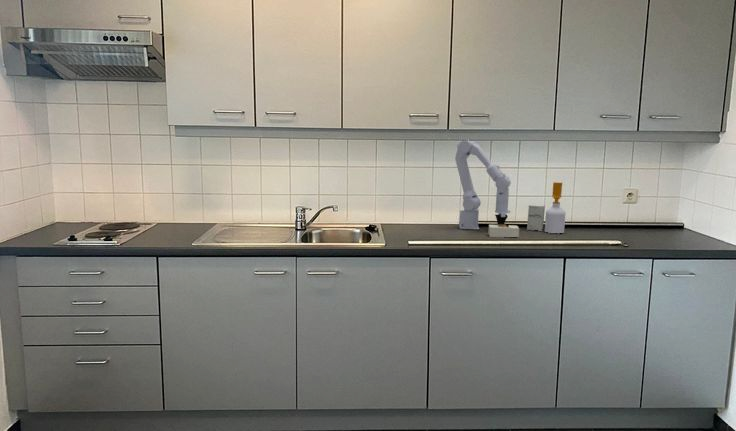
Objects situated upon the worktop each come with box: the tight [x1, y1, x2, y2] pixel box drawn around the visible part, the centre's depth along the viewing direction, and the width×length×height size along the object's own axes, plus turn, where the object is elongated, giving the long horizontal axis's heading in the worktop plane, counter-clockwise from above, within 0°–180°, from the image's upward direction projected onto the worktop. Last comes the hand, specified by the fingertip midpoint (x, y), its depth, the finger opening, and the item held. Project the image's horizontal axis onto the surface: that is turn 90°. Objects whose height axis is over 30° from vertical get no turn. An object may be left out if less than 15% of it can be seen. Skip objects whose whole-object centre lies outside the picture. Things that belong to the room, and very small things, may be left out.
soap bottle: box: [544, 181, 566, 235], centre depth 266 cm, size 9×9×25 cm
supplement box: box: [526, 203, 546, 232], centre depth 274 cm, size 7×7×13 cm
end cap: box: [487, 224, 520, 238], centre depth 257 cm, size 13×7×4 cm, turn 83°
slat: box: [496, 223, 508, 228], centre depth 260 cm, size 4×12×4 cm, turn 173°
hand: (500, 229), depth 268 cm, fingers closed
